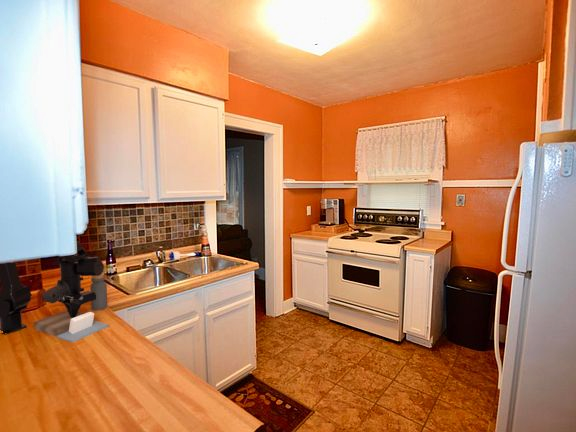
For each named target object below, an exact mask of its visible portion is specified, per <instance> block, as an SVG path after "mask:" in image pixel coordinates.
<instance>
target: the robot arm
mask: <svg viewBox="0 0 576 432" xmlns="http://www.w3.org/2000/svg"><path fill="white" fill-rule="evenodd" d="M76 241H77V243H78V253H77V254H76V255H74V256H67V257H57V259H56V260H55V261H54V262H53V263H52V264H53V265H54V266H56V265H59V272H60V279H57V281H56V285H55V286H53V287H50V288H49V289H48V290H45V291H44V292H42V293H41V296H42V298H43V299H44V301H45V303H49V304H55V303H56V302H58V303H61V304H63V305H64V307H65V309H66V311H68V313H69V315H70V317H71V318H75V317H76V315H77V313H78V312H80V311H79V310H80V308H81V306H82V305H83V304H88V303H91V301H93V300H96V299H97V294H96V293H95V292H91V290H86V291H85V289H84V287H82V284H81V283H82V282H81V281H84V277H92V276H100V275H101V274H102V272H103V273H104V263H103V261H102V260H101V259H100V258H101V257H100V256H93V257H92V256H90V255H89V254H88V253H87V252H86V250H85V249H84V248H83V246H82V243H81V242H80V241H78V240H76ZM0 286H1V288H0V330H1V331H3V333H8V334H11V333H14V332H17V331H20V330H22V329H25V328H27V327H28V325H26V324H24V323H23V322H22V311H23V310H25V309H27V307H28V305H29V303H30V302H31V299H32V296H33V294H32V292H31V287H30V285H26V286H25V285H24V284H22V283H21V280H20V276H19V272H18V268H17V264H16V262H15V263H7V264H0Z"/></svg>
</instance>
